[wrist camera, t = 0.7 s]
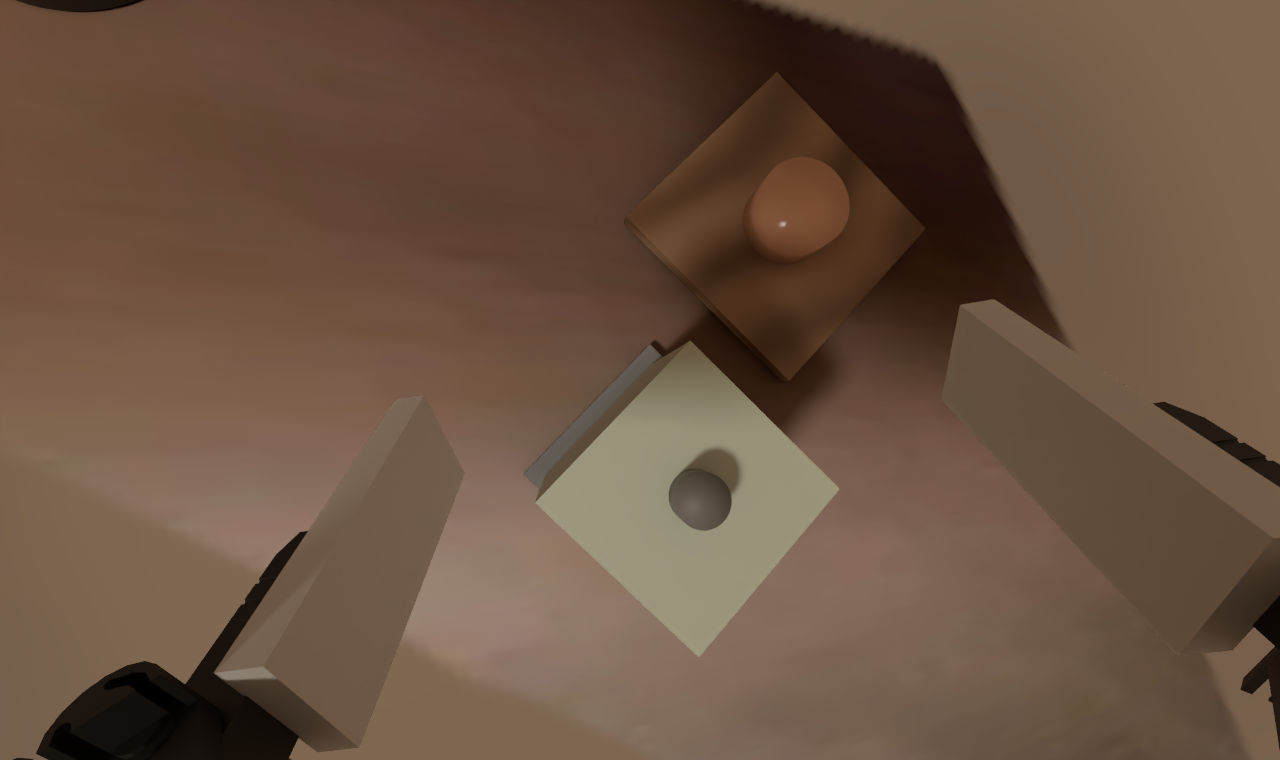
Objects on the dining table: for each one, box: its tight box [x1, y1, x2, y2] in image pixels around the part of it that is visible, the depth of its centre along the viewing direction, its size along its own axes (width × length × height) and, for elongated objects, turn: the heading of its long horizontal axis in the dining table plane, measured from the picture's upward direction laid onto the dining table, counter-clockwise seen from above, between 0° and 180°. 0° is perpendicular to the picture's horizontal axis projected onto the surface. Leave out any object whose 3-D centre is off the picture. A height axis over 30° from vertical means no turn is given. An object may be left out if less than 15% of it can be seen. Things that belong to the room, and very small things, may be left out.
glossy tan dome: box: [743, 157, 850, 264], centre depth 33 cm, size 6×6×4 cm
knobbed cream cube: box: [535, 341, 839, 657], centre depth 27 cm, size 10×10×13 cm
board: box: [624, 72, 926, 382], centre depth 36 cm, size 16×16×1 cm
